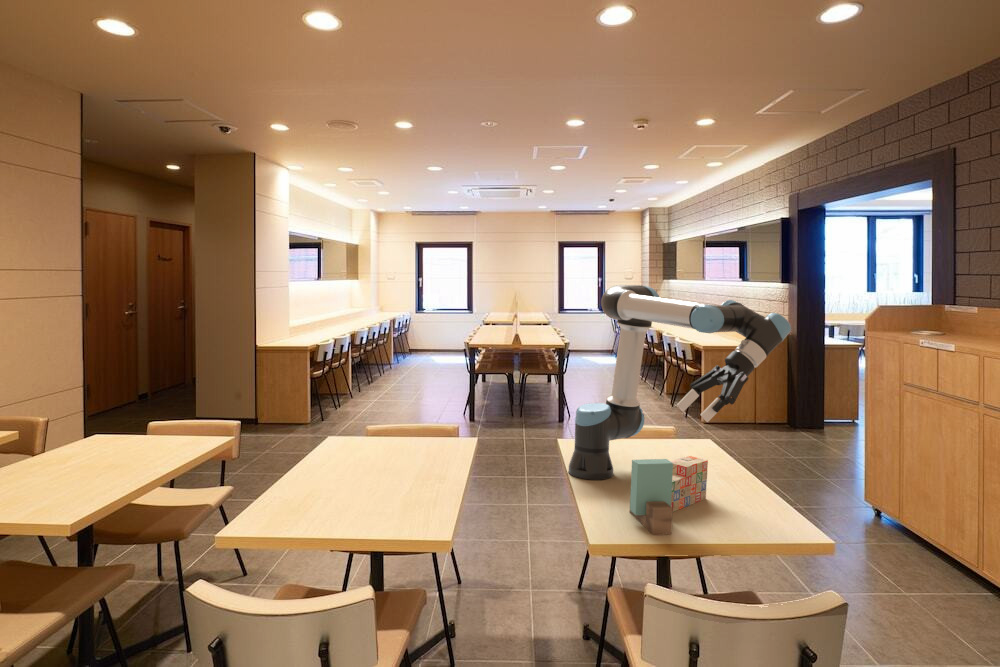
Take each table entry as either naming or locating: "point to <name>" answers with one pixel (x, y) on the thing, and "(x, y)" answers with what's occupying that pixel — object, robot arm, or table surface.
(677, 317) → the robot arm
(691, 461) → the stack of blocks
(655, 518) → the staggered wooden block
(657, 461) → the rectangular block
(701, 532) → the table surface
